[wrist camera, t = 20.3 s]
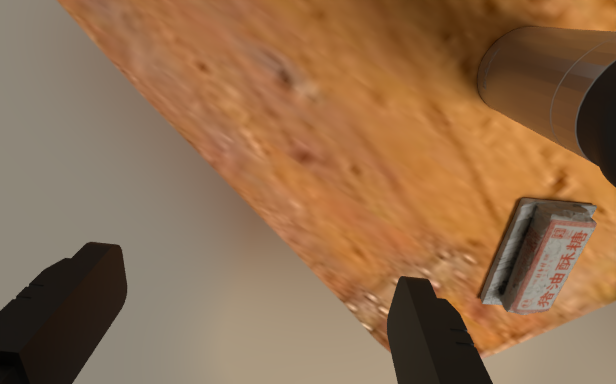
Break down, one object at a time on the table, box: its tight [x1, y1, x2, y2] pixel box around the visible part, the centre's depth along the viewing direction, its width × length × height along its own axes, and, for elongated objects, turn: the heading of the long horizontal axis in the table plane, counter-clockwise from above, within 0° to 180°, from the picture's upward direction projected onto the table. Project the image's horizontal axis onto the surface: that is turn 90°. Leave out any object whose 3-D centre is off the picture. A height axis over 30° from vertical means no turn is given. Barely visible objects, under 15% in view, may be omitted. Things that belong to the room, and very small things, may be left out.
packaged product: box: [480, 198, 597, 315], centre depth 49 cm, size 18×5×10 cm
